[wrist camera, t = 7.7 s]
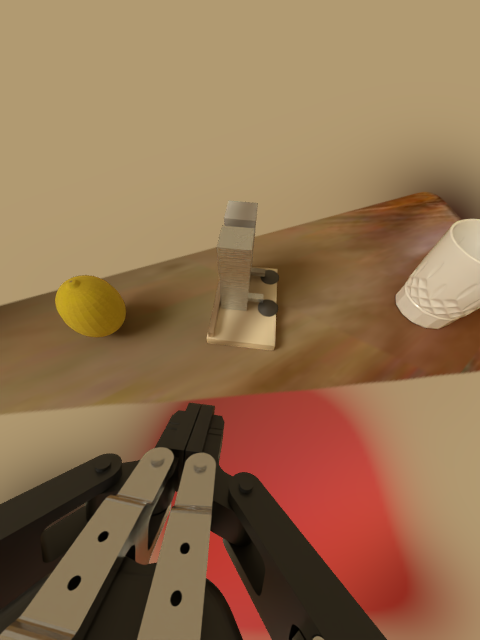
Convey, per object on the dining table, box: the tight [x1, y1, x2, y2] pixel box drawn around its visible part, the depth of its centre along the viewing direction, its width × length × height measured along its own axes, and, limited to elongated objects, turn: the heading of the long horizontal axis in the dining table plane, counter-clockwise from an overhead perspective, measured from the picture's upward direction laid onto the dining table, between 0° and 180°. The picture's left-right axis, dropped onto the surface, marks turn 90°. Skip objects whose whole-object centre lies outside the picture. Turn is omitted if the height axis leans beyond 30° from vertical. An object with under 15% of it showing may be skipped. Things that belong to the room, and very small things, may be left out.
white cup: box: [396, 219, 480, 329], centre depth 25 cm, size 8×8×10 cm
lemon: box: [55, 275, 126, 337], centre depth 23 cm, size 6×6×8 cm
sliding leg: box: [217, 225, 264, 311], centre depth 24 cm, size 5×3×9 cm, turn 84°
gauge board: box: [207, 201, 279, 351], centre depth 25 cm, size 8×12×10 cm, turn 174°
